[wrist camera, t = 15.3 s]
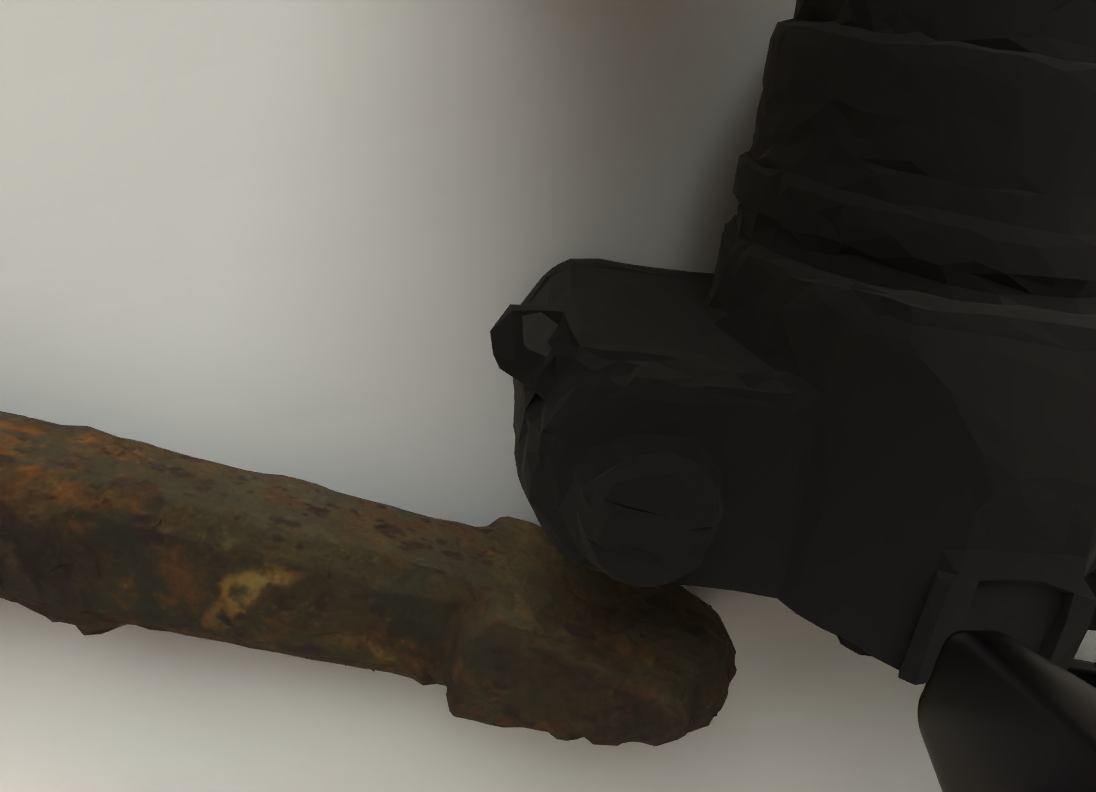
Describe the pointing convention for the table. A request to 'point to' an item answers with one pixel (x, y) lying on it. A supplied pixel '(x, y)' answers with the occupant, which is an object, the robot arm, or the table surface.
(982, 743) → the robot arm
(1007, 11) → the film camera
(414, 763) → the table surface
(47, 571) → the hand tool
